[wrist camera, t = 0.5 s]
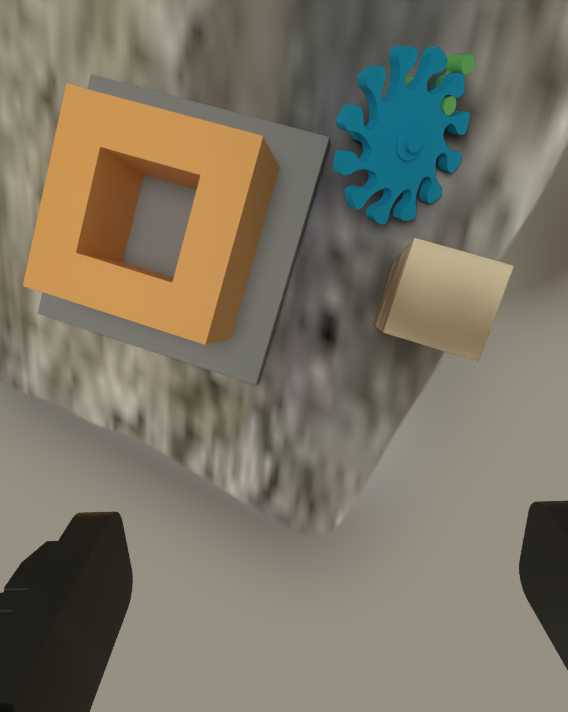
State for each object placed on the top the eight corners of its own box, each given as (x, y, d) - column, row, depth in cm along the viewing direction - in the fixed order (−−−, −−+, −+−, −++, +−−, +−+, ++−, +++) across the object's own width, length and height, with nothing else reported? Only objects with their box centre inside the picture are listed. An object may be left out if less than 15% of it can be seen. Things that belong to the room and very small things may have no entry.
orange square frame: (98, 81, 35) (35, 24, 28) (330, 142, 33) (323, 98, 26) (46, 313, 37) (-24, 314, 30) (258, 383, 35) (235, 401, 28)
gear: (393, 258, 31) (315, 141, 25) (342, 234, 36) (264, 129, 29) (505, 133, 31) (458, -21, 24) (440, 123, 35) (384, -9, 29)
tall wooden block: (392, 263, 33) (414, 237, 21) (455, 281, 33) (513, 265, 21) (372, 324, 34) (383, 332, 22) (434, 342, 33) (478, 361, 21)
